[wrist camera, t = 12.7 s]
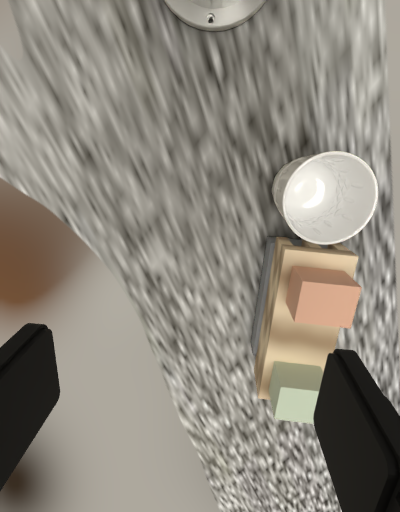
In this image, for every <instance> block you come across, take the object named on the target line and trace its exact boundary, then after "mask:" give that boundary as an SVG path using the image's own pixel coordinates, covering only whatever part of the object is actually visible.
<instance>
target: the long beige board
mask: <svg viewBox="0 0 400 512" xmlns="http://www.w3.org/2000/svg"><path fill="white" fill-rule="evenodd" d="M357 261H358V256H357V255H356V254H354V253H353V252H351V251H350V250H349V249H347V248H346V247H345V246H343V245H342V244H341V243H335V244H328V247H327V249H324V248H321V247H320V246H319V245H318V244H315V243H311V242H308V241H306V240H304V239H302V244H301V246H294V245H293V244H292V243H291V242H290V240H289V239H288V238H287V237H276V242H275V248H274V254H273V260H272V266H271V272H270V278H269V284H268V290H267V296H266V301H265V307H264V313H263V319H262V325H261V331H260V337H259V343H258V349H257V355H256V361H255V367H254V373H255V380H256V386H257V393H258V398H260V399H268V400H270V395H269V386H270V381H271V375H272V370H273V365H274V361H279V362H288V363H296V364H305V365H314V366H320V367H321V369H322V371H323V373H324V368H325V364H326V360H327V356H328V354H329V353H333V351H334V349H335V345H336V341H337V337H338V333H339V330H340V327H333V326H324V325H315V324H306V323H297V322H294V321H293V318H292V316H291V314H290V311H289V309H288V307H287V304H286V297H287V292H288V286H289V281H290V276H291V271H292V266H302V267H311V268H321V269H331V270H340V271H345V272H346V273H347V274H348V275H349V276H350V277H351V278H352V279H353V276H354V272H355V268H356V264H357Z"/></svg>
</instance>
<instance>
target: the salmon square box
mask: <svg viewBox="0 0 400 512" xmlns="http://www.w3.org/2000/svg"><path fill="white" fill-rule="evenodd" d="M361 288H362V287H361V286H360V285H359V284H357V283H356V282H355V281H354V280H353V279H352V278H351V277H350V276H349V275H348V274H347V273H346V272H345V271H340V270H331V269H321V268H311V267H302V266H292V271H291V276H290V281H289V286H288V292H287V297H286V304H287V307H288V309H289V311H290V314H291V316H292V318H293V321H294V322H297V323H306V324H315V325H324V326H333V327H342V328H351V325H352V321H353V317H354V314H355V310H356V307H357V303H358V299H359V296H360V292H361Z"/></svg>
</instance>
